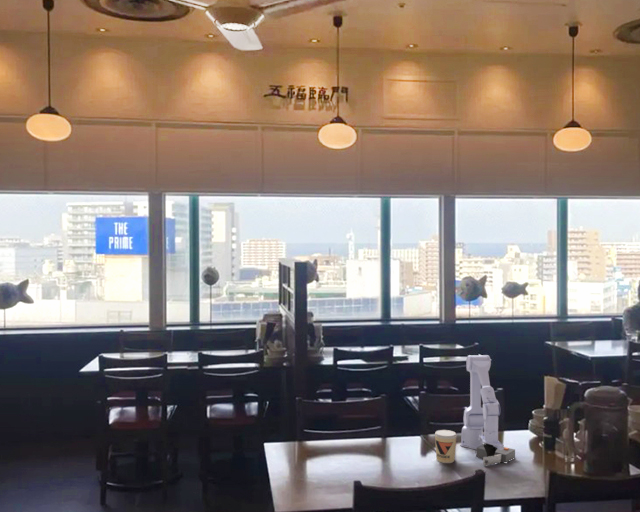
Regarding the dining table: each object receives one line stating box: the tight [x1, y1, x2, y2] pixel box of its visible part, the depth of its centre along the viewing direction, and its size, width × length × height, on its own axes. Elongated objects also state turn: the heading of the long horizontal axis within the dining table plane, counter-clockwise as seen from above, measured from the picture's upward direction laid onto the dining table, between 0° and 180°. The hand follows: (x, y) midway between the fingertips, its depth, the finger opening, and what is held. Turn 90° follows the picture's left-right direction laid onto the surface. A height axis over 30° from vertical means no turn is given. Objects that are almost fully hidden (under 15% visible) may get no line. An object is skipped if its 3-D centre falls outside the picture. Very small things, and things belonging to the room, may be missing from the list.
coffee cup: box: [434, 429, 457, 464], centre depth 277 cm, size 9×9×12 cm
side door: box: [482, 454, 502, 467], centre depth 271 cm, size 9×1×4 cm, turn 113°
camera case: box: [475, 443, 516, 463], centre depth 280 cm, size 14×9×5 cm, turn 48°
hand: (490, 461), depth 271 cm, fingers closed, pressing on side door
